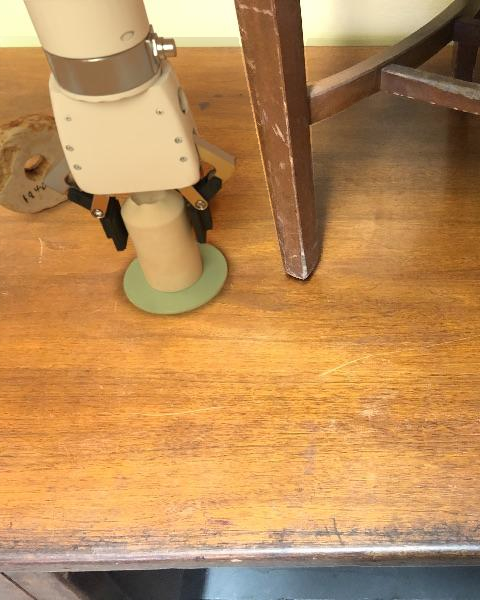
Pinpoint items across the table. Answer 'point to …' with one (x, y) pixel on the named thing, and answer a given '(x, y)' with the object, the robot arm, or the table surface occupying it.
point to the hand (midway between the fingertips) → (163, 236)
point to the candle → (163, 239)
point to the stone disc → (17, 151)
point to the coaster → (184, 299)
